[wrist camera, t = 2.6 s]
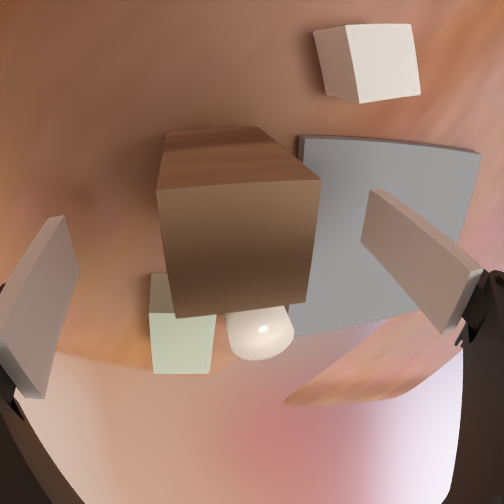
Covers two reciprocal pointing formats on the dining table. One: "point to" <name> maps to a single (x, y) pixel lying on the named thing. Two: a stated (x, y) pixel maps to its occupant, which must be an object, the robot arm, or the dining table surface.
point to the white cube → (368, 61)
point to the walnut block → (235, 221)
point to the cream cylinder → (259, 332)
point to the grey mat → (353, 214)
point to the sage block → (177, 334)
